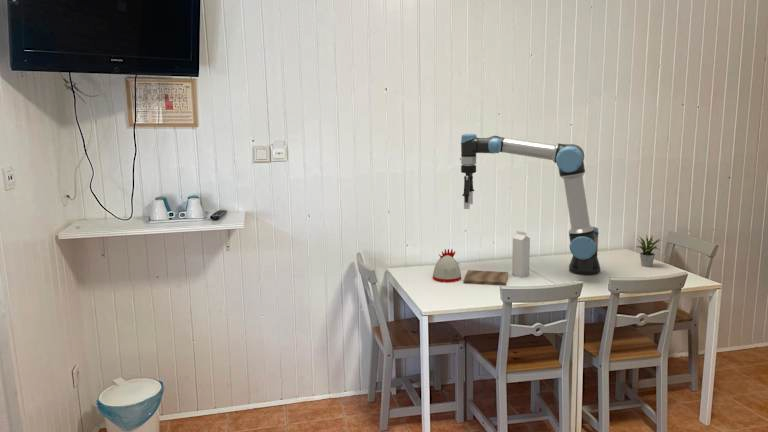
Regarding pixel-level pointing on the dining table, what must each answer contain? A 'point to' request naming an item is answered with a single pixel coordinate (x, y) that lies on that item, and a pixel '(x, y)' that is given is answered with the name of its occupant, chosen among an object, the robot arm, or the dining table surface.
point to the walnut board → (486, 277)
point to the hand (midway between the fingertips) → (468, 206)
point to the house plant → (647, 252)
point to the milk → (520, 254)
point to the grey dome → (447, 268)
